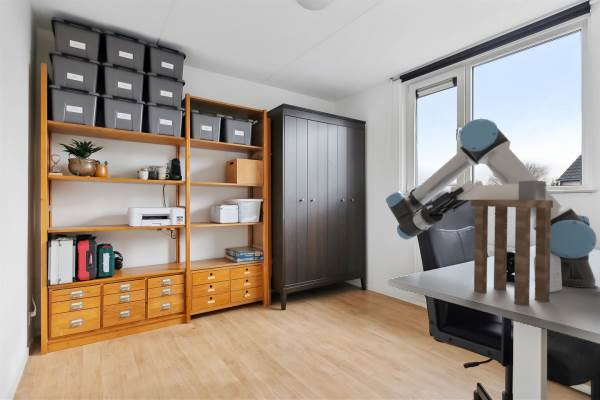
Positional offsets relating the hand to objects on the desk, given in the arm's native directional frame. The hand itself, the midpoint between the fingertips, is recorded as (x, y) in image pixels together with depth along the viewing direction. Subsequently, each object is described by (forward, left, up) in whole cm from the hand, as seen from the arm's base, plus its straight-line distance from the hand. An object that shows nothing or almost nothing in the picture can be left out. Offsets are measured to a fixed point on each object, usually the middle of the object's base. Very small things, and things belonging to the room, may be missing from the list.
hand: (477, 184), depth 101 cm
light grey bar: (0, +5, -5) cm, 7 cm away
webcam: (-19, -1, -33) cm, 38 cm away
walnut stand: (0, +11, -33) cm, 35 cm away
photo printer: (-18, +12, -34) cm, 40 cm away
